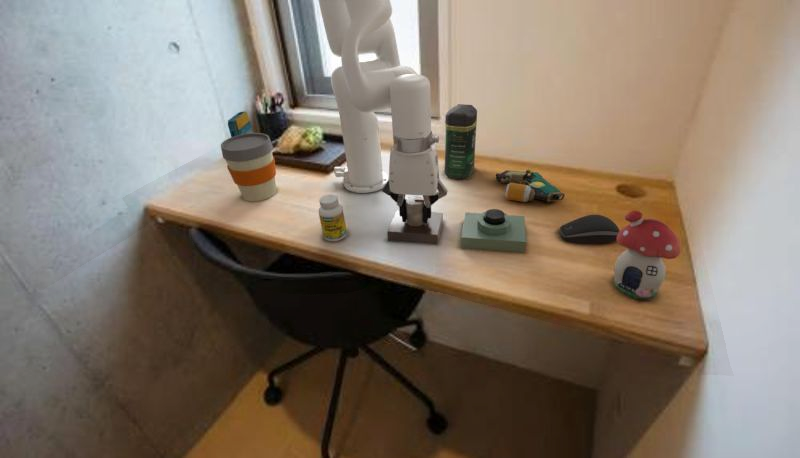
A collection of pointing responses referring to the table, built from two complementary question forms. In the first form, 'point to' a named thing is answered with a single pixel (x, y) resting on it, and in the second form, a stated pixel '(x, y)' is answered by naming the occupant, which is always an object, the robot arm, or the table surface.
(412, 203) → the dial
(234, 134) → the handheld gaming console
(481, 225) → the green push button panel
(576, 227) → the computer mouse
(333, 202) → the supplement bottle
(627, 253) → the decorative ornament
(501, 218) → the button
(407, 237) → the dial panel
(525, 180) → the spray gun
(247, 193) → the reusable coffee cup
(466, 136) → the coffee jar
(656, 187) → the table surface
